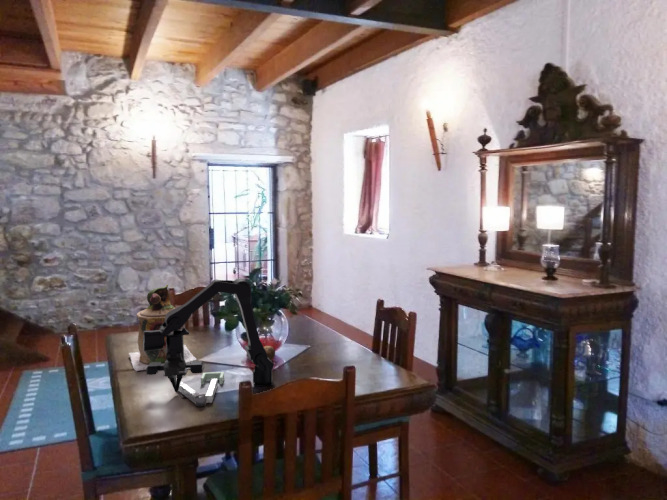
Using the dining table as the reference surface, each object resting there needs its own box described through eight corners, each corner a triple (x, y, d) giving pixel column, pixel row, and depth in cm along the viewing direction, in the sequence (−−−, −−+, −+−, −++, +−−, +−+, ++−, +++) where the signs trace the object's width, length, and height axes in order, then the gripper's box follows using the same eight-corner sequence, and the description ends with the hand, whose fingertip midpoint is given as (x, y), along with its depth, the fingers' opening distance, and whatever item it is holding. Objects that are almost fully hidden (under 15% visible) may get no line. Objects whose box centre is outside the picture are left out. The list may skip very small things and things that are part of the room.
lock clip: (224, 378, 201) (224, 372, 200) (222, 384, 195) (222, 377, 194) (203, 379, 200) (203, 372, 200) (200, 384, 194) (200, 378, 194)
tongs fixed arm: (217, 385, 194) (217, 378, 193) (211, 402, 177) (211, 395, 177) (212, 385, 193) (211, 378, 193) (205, 402, 177) (205, 395, 177)
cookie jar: (127, 356, 229) (124, 283, 226) (185, 349, 240) (183, 279, 237) (135, 373, 207) (132, 292, 204) (198, 364, 218) (196, 287, 215)
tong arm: (183, 388, 190) (183, 380, 190) (206, 405, 175) (206, 396, 175) (175, 389, 189) (175, 382, 188) (198, 407, 173) (197, 399, 173)
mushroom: (268, 348, 231) (265, 339, 226) (280, 358, 226) (278, 349, 222) (253, 359, 227) (251, 350, 223) (265, 370, 222) (263, 361, 218)
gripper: (141, 355, 174) (143, 401, 176) (199, 353, 176) (200, 399, 178) (149, 346, 185) (151, 389, 187) (204, 344, 187) (205, 387, 189)
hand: (176, 391), depth 185 cm, fingers closed
